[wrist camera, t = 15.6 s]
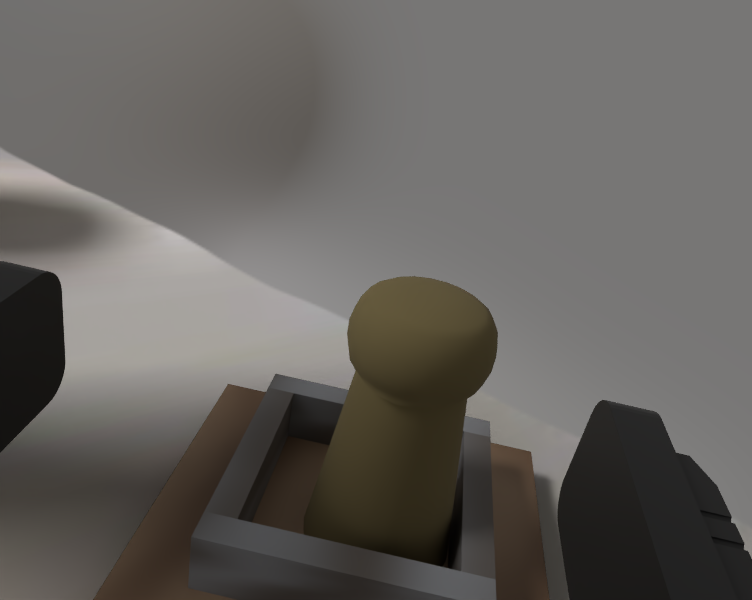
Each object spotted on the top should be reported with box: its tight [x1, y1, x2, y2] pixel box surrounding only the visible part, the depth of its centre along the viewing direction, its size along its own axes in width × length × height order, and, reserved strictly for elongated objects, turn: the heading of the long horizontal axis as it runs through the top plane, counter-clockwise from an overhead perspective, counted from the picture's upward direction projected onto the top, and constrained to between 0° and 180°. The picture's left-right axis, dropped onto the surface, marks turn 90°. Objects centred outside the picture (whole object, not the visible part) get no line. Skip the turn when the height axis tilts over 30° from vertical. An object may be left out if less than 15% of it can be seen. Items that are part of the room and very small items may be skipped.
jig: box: [93, 374, 549, 600], centre depth 27 cm, size 16×14×4 cm
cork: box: [304, 276, 498, 567], centre depth 24 cm, size 6×6×11 cm
